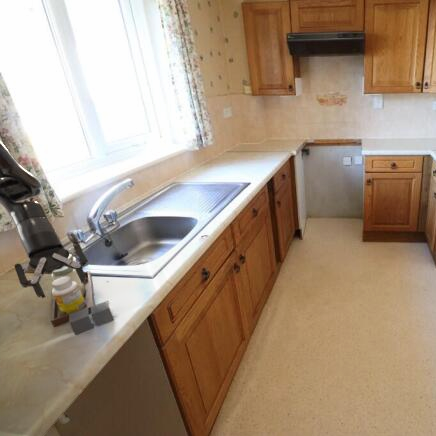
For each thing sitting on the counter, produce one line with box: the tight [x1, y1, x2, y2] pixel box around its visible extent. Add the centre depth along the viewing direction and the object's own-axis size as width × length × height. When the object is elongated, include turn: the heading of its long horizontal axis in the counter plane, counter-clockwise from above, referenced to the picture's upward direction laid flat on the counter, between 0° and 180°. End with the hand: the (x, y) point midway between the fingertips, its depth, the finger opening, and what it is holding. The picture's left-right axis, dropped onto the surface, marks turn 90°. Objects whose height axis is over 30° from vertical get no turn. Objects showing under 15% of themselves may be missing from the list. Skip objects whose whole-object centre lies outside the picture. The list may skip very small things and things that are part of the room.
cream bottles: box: [50, 254, 86, 296], centre depth 96 cm, size 6×12×10 cm, turn 36°
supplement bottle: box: [51, 276, 86, 315], centre depth 87 cm, size 6×6×10 cm
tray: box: [50, 270, 96, 328], centre depth 94 cm, size 9×22×3 cm, turn 36°
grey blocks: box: [68, 300, 115, 336], centre depth 85 cm, size 9×4×4 cm, turn 126°
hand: (64, 289), depth 85 cm, fingers open, 8 cm apart
